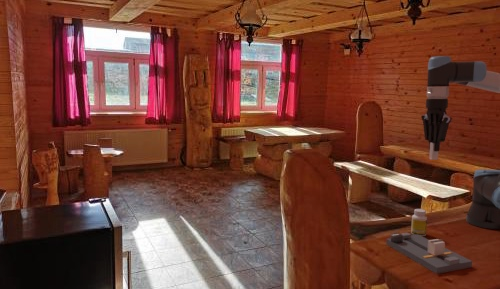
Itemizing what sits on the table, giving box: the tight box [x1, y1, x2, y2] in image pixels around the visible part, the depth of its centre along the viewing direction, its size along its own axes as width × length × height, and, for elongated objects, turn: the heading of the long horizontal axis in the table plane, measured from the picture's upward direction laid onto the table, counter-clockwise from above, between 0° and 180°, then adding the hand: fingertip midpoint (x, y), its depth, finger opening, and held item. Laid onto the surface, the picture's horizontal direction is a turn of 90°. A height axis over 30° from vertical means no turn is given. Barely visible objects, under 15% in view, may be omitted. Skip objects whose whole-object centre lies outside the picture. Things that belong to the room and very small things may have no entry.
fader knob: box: [428, 238, 446, 255], centre depth 125 cm, size 4×3×4 cm
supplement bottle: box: [410, 208, 428, 237], centre depth 147 cm, size 5×5×10 cm
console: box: [385, 232, 473, 274], centre depth 129 cm, size 14×24×5 cm, turn 18°
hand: (433, 159), depth 147 cm, fingers closed
